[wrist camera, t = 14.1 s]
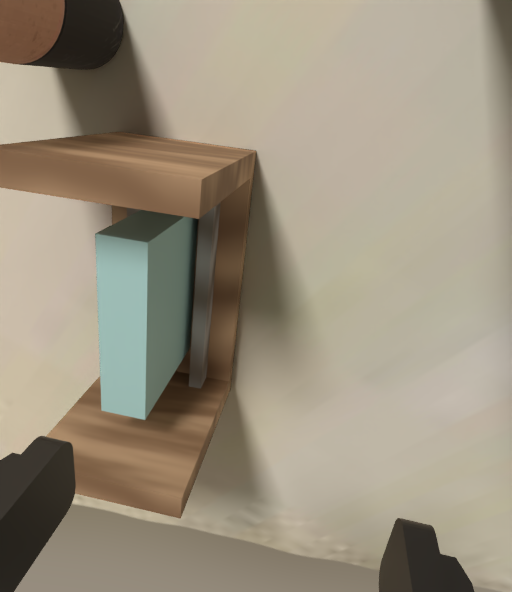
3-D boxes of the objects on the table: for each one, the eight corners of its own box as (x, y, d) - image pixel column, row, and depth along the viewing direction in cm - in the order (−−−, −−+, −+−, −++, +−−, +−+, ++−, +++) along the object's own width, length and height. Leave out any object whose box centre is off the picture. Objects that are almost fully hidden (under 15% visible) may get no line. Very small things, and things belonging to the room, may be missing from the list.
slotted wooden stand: (118, 131, 38) (-19, 146, 23) (256, 150, 36) (201, 179, 22) (121, 367, 48) (26, 481, 33) (230, 389, 46) (180, 518, 32)
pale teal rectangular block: (159, 200, 38) (95, 233, 28) (198, 206, 38) (148, 242, 28) (155, 341, 44) (101, 410, 34) (189, 347, 43) (145, 419, 33)
